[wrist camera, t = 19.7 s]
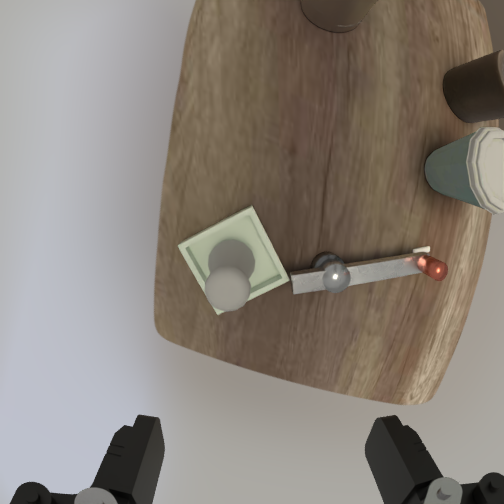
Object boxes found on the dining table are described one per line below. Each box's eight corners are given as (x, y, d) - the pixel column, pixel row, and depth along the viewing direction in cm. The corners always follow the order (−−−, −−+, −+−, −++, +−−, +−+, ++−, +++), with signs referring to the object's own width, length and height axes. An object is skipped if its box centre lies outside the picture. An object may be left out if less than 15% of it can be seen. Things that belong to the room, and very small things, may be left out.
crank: (290, 290, 40) (299, 312, 33) (288, 264, 39) (296, 281, 32) (421, 269, 40) (447, 283, 33) (421, 245, 39) (448, 256, 32)
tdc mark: (412, 254, 41) (414, 254, 41) (412, 248, 41) (414, 249, 41) (428, 250, 41) (429, 251, 41) (428, 245, 41) (429, 246, 41)
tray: (182, 241, 40) (177, 245, 37) (251, 204, 39) (252, 206, 37) (219, 306, 42) (217, 314, 40) (286, 273, 42) (289, 280, 39)
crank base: (305, 260, 41) (308, 264, 39) (334, 246, 41) (338, 249, 39) (318, 287, 42) (321, 292, 40) (345, 273, 42) (350, 277, 40)
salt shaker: (239, 287, 41) (237, 332, 28) (202, 265, 40) (183, 303, 27) (263, 250, 40) (271, 282, 27) (224, 227, 39) (215, 249, 26)
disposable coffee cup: (410, 200, 40) (476, 212, 25) (412, 128, 37) (477, 112, 23) (461, 207, 40) (527, 220, 25) (463, 142, 38) (529, 136, 23)
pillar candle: (434, 92, 36) (496, 70, 21) (454, 58, 34) (510, 34, 20) (471, 135, 37) (535, 130, 23) (488, 99, 36) (547, 88, 21)
